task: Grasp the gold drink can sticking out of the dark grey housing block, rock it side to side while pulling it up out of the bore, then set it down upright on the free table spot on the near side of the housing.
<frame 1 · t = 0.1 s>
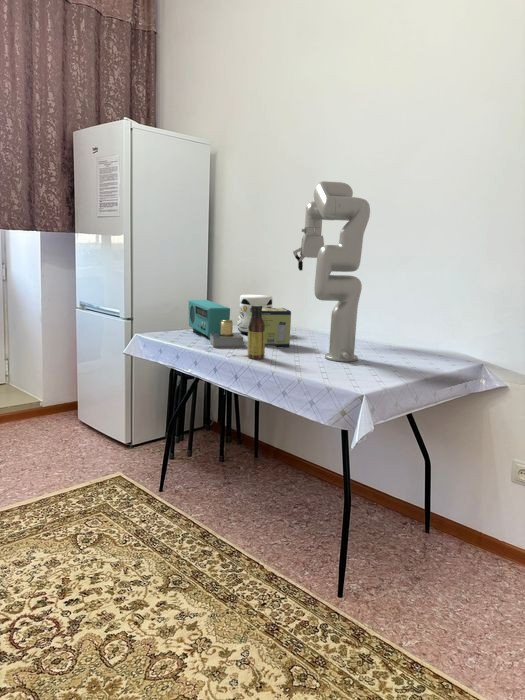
hand: (310, 270, 242), 31 cm above the table, tool pointing down, fingers open, 9 cm apart
gold drink can: (226, 344, 219), point 1 cm above the table, touching housing
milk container: (254, 334, 257), on the table
radio: (206, 336, 244), on the table
sauce bottle: (255, 358, 200), on the table
protein box: (269, 345, 227), on the table
housing: (226, 347, 219), on the table
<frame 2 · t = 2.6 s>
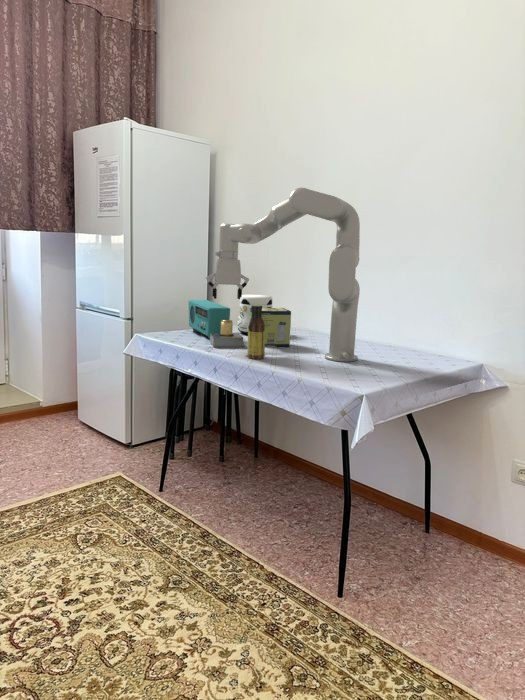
hand: (226, 298, 215), 20 cm above the table, tool pointing down, fingers open, 9 cm apart
nothing on the table moved.
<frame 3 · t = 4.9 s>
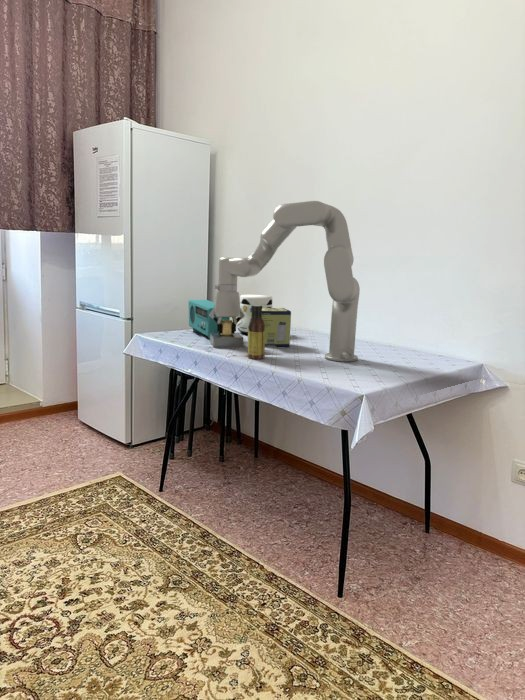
hand: (226, 332, 218), 6 cm above the table, tool pointing down, fingers closed on gold drink can, 4 cm apart
gold drink can: (226, 344, 219), point 1 cm above the table, touching gripper, housing
everything else where it was.
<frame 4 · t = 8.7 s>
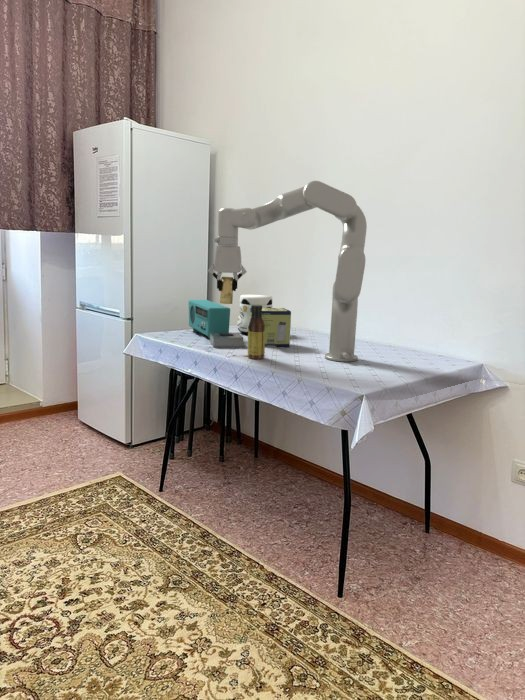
hand: (227, 290, 204), 24 cm above the table, tool pointing down, fingers closed on gold drink can, 4 cm apart
gold drink can: (226, 303, 205), point 19 cm above the table, touching gripper
everything else where it was.
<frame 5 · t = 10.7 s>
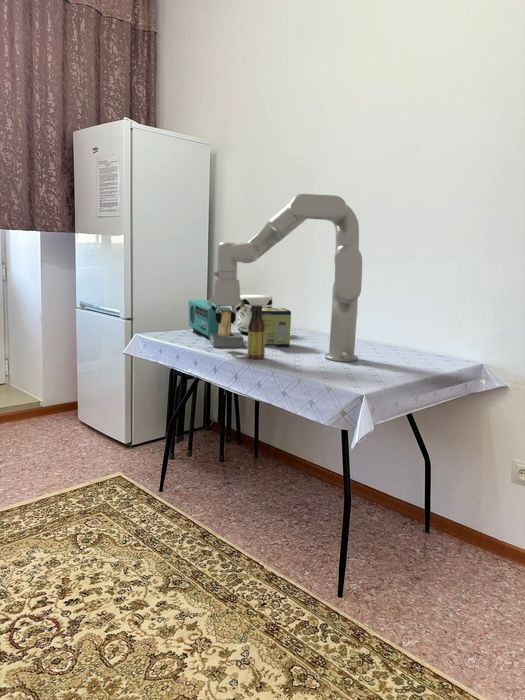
hand: (225, 322, 206), 12 cm above the table, tool pointing down, fingers closed on gold drink can, 4 cm apart
gold drink can: (224, 335, 207), point 7 cm above the table, touching gripper
everything else where it was.
when the fingers open (6 cm above the table, at t = 12.4 s): gold drink can drops 1 cm, on the table.
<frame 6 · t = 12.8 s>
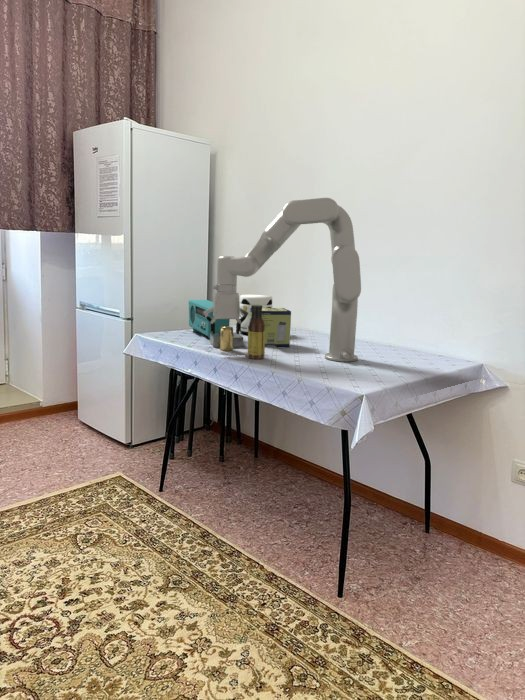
hand: (225, 333, 207), 7 cm above the table, tool pointing down, fingers open, 9 cm apart
gold drink can: (226, 352, 208), on the table
everything else where it was.
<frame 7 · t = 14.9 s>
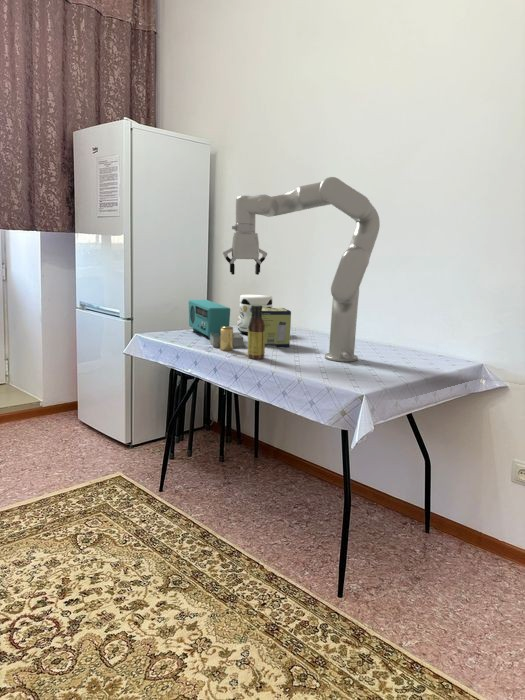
hand: (245, 274, 207), 30 cm above the table, tool pointing down, fingers open, 9 cm apart
nothing on the table moved.
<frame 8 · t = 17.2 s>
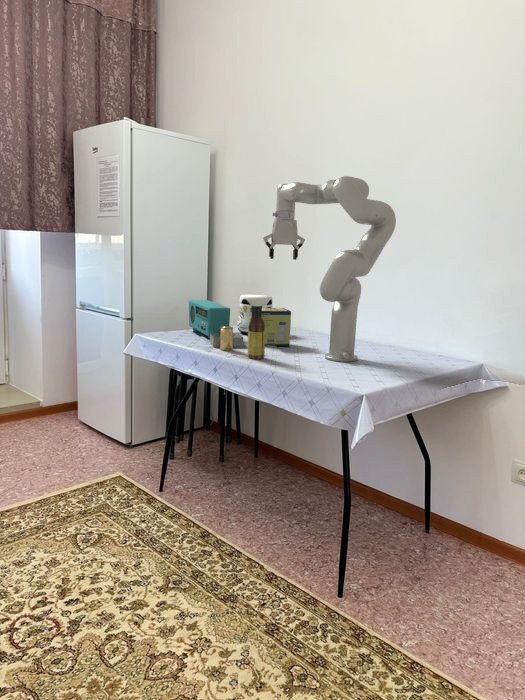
hand: (283, 259, 219), 36 cm above the table, tool pointing down, fingers open, 9 cm apart
nothing on the table moved.
at the end: gold drink can inside the target area (0.5 cm from its centre), on the table; gold drink can tilted 0°; gold drink can touching table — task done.
